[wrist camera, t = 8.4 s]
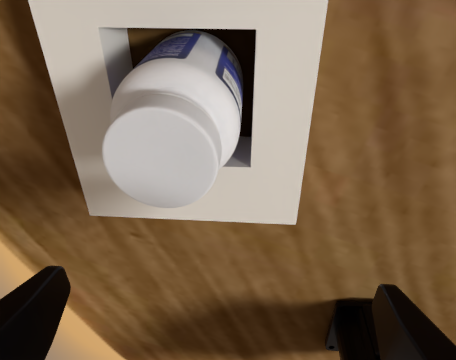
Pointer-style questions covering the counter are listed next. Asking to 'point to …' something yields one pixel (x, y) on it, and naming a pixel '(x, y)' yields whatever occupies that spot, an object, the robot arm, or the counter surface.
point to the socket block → (247, 146)
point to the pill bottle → (175, 120)
